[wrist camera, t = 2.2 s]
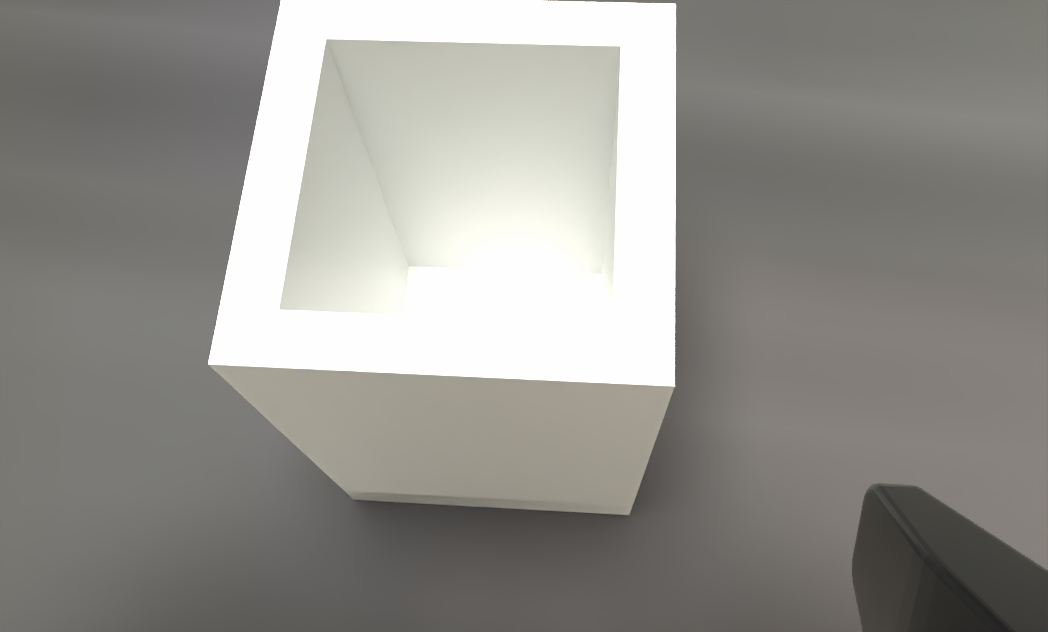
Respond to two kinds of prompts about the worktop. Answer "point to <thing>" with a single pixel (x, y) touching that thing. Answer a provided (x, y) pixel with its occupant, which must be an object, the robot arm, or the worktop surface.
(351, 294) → the white crate
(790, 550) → the worktop surface
